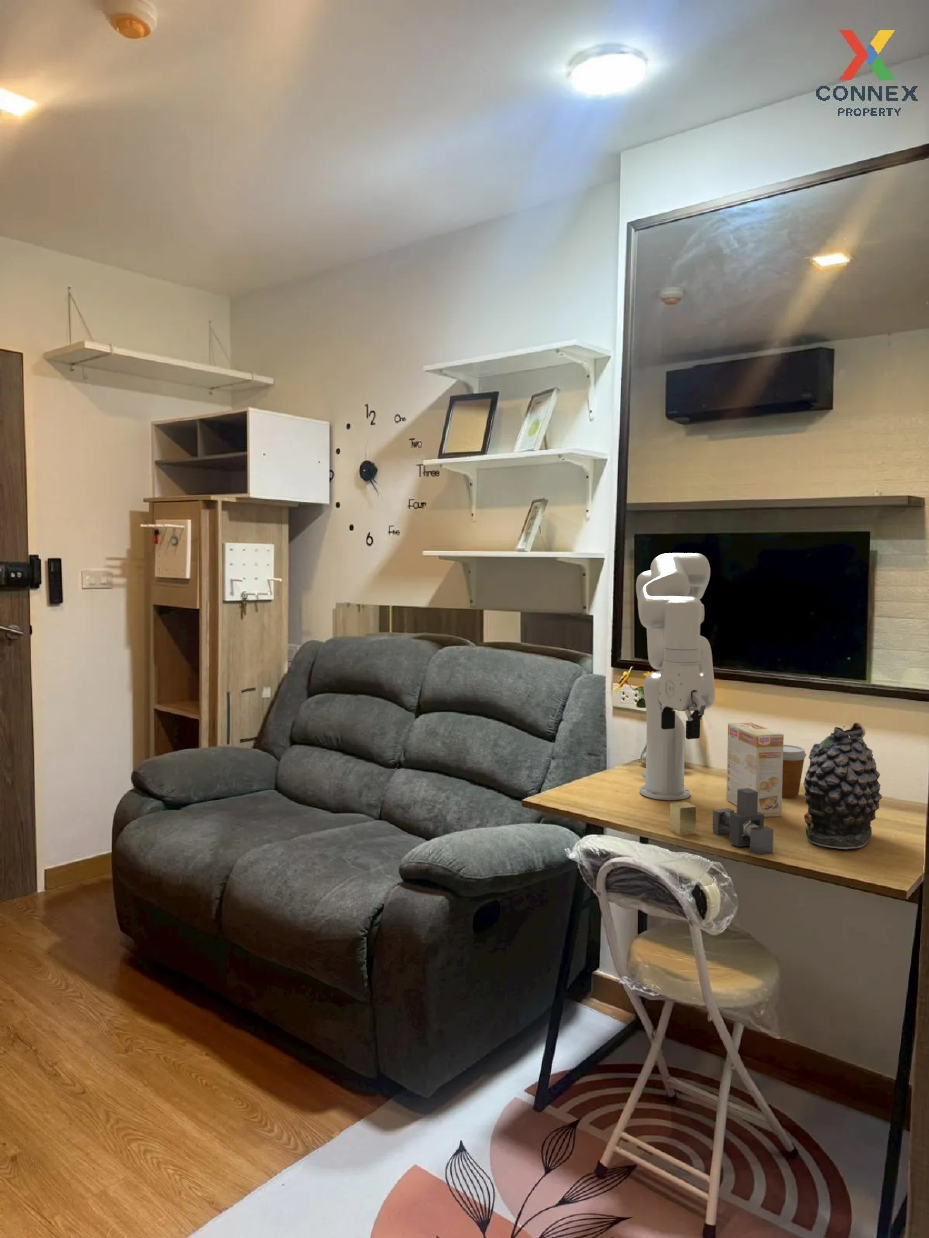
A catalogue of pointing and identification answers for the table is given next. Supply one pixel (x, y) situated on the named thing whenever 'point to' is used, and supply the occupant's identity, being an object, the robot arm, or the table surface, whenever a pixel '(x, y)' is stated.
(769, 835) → the grey shaft with blocks
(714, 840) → the table surface
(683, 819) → the pale yellow rectangular block
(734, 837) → the grey bracket
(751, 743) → the coffeecake box
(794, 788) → the disposable coffee cup
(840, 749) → the pinecone sculpture
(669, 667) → the robot arm
